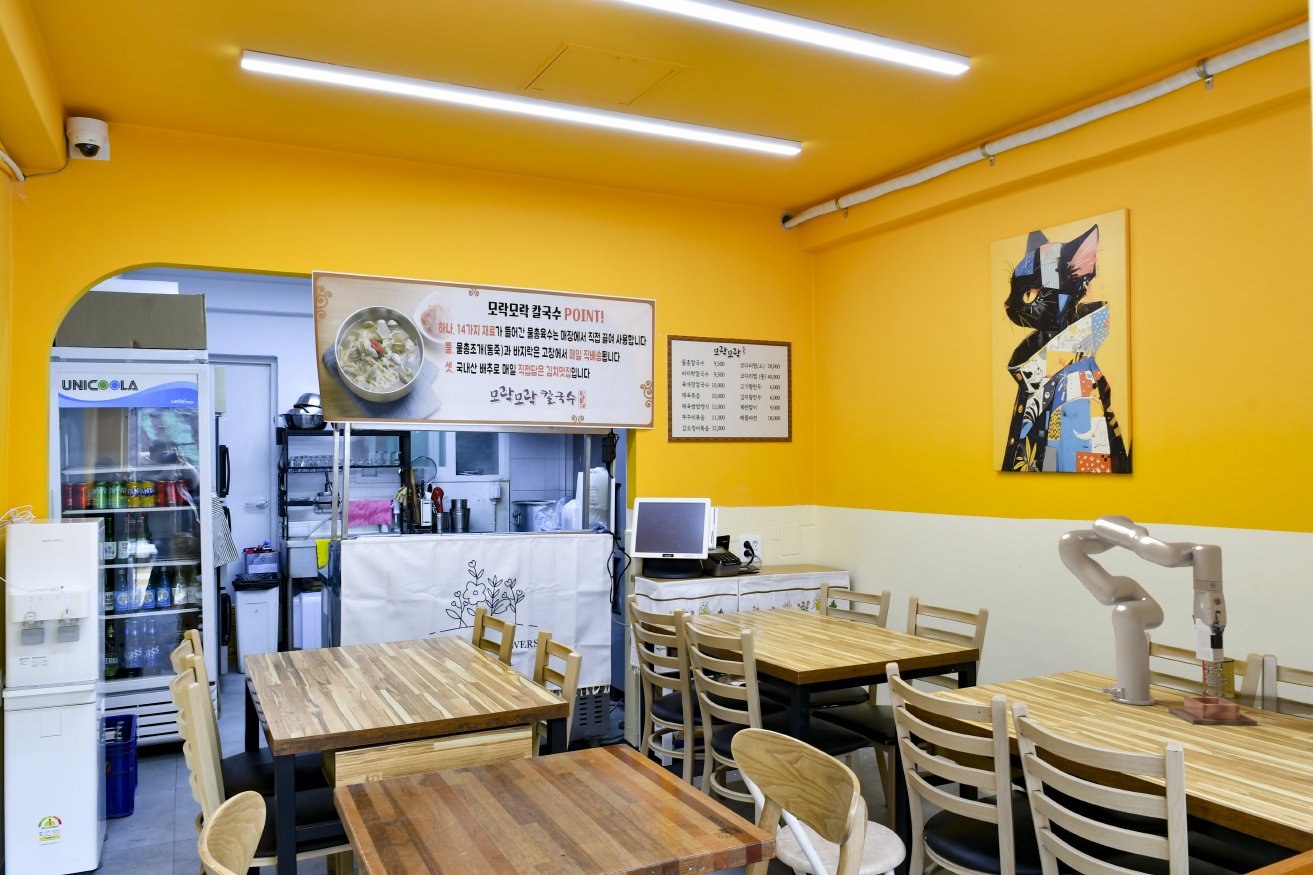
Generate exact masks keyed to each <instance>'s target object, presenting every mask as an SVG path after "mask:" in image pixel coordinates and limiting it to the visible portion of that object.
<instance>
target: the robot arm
mask: <svg viewBox="0 0 1313 875" xmlns="http://www.w3.org/2000/svg"><path fill="white" fill-rule="evenodd" d="M1115 547H1120V548H1123V549H1126V550H1129V551H1131V552H1133V553H1135V555H1137V556H1138V557H1139V558H1141V559H1143V560H1145V561H1148V562H1150V563H1153V564H1156V565H1159V566H1161V567H1165V568H1171V569H1172V568H1173V569H1175V568H1188V567H1190V568H1191V567H1192V580H1193V582H1192V583H1193V586H1192V589H1193V592H1194V593H1193V604H1192V606H1193V608H1192V609H1193V610H1192V611H1193V612H1192V613H1193V614H1192V616H1191V617H1192V619H1193V621H1194V622H1193V624H1194V626H1195V627H1194V630H1196V625H1195V619H1200V620H1201V621H1202V623H1204V624H1206V625H1209V626H1210V629H1211V633H1212V635H1210V643H1211V648H1212V649H1222V648H1223V649H1224V631H1225V628H1226V626H1227V624H1228V623H1227V621H1228V620H1227V607H1226V601H1225V595H1224V590H1223V589H1224V587H1223V585H1224V584H1223V581H1224V580H1223V552H1222V551H1223V550H1222V548H1221V546H1220V545H1216V544H1207V543H1206V544H1203V543H1202V544H1198V543H1195V542H1188V541H1187V542H1186V541H1184V542H1181V541H1180V542H1179V541H1177V542H1167V541H1164V540H1161V539H1158V538H1154V537H1153V536H1150V532H1149V530H1148V529H1147V528H1146V527H1145V526H1141V525H1139V524H1136V523H1135V522H1134V521H1133V519H1131V518H1130V517H1128V516H1126V515H1122V514H1116V515H1115V514H1114V515H1113V514H1109V515H1101V516H1099V517H1098V518H1096V519H1095V520H1094V522H1093V523H1092V529H1075V530H1070V531H1067V532H1066V533H1064V534H1062V536H1060V538H1059V540H1058V546H1057V548H1058V555H1059V558H1060V560H1061V561H1062V563H1063V565H1064V566H1065V567H1066V568H1067V570H1069V572H1071V573H1072V575H1074V576H1075V577H1076V578H1077V579H1078V580H1079V581H1080V583H1081V584H1082V585H1083V586H1084V587H1085V588H1086V590H1088V592H1089V593H1090V594H1091V595H1092V596H1093V597H1094V598H1095V599H1096V600H1097V601H1098V602H1099V603H1100V604H1102V605H1104V606H1107V607H1113V606H1115V607H1114V608H1113V609H1112V612H1111V622H1112V623H1111V624H1112V626H1113V632H1114V639H1115V640H1114V641H1115V643H1114V644H1115V668H1116V669H1115V670H1116V671H1115V672H1116V673H1115V675H1116V676H1115V678H1116V683H1115V684H1113V686H1111V687H1107V686H1106V687H1102V686H1101V688H1100V693H1101V694H1102V695H1103V694H1104V695H1107V694H1108V695H1110V696H1111V700H1113V701H1115V702H1118V703H1120V704H1121V703H1122V704H1128V705H1135V706H1151V705H1155V704H1156V703H1157V700H1156V698H1155V697H1153V696H1151V677H1150V676H1151V674H1150V672H1151V671H1150V646H1149V641H1148V638H1147V634H1146V632H1145V631H1148V630H1149V631H1150V630H1155V629H1157V628H1159V627H1161V625H1162V624H1163V623H1164V620H1165V614H1164V611H1163V608H1162V607H1161V605H1160V604H1159V603H1158V602H1157V601H1156V599H1154V598H1153V597H1152V595H1150V594H1149V592H1148V591H1146V590H1145V589H1144V587H1142V585H1140V584H1139V583H1138V582H1137V581H1136V580H1135V579H1133V578H1131V577H1130V576H1126V575H1112V574H1111V573H1109V572H1108V571H1107V570H1106V569H1105V568H1104V567H1103V566H1102V565H1101V564H1100V563H1099V562H1098V561H1097V560H1095V559H1093V558H1091V557H1090V556H1089V555H1099V554H1103V553H1105V552H1108V551H1109V550H1111V549H1113V548H1115ZM1213 622H1215V623H1217V624H1213ZM1214 627H1216V629H1214ZM1222 635H1223V637H1222Z"/></svg>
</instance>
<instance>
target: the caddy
mask: <svg viewBox="0 0 1313 875" xmlns="http://www.w3.org/2000/svg"><path fill="white" fill-rule="evenodd" d="M1240 708H1241V707H1240V705H1239V704H1237V703H1235V702H1232V701H1229V700H1227V699H1226V698H1220V697H1210V696H1183V708H1178V707H1177V708H1173V707H1168V708H1167V709H1168V713H1169V714H1171V715H1173V716H1176V717H1177V718H1179V719H1181V720H1182V721H1186V722H1187V723H1189V724H1192V725H1196V726H1197V725H1198V726H1199V725H1202V726H1203V725H1204V726H1205V725H1206V726H1207V725H1209V726H1213V725H1214V726H1220V725H1219V724H1222V725H1221V726H1258V721H1257V720H1255V719H1253V718H1251V717H1248V716H1247V715H1245V714H1241V712H1240V711H1241V710H1240ZM1223 724H1224V725H1223Z"/></svg>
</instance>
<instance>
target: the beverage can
mask: <svg viewBox="0 0 1313 875" xmlns="http://www.w3.org/2000/svg"><path fill="white" fill-rule="evenodd" d="M1224 659H1227V660H1224V661H1223V662H1210V661H1205V660H1201V662H1202V663H1201V664H1202V685H1203V684H1204V685H1208V686H1214V687H1217V688H1218V691H1219V688H1220V689H1224V690H1226V692H1227V690H1229V691H1235V692H1236V689H1235V687H1236V686H1235V685H1236V684H1235V682H1236V680H1235V679H1236V678H1235V659H1234V658H1230V657H1226V656H1224ZM1228 660H1232V661H1228ZM1211 667H1213V668H1211ZM1220 669H1222V670H1220ZM1233 670H1234V671H1233ZM1230 672H1231V673H1230ZM1214 690H1216V689H1214ZM1214 690H1213V689H1212V690H1211V689H1210V688H1209V689H1203V688H1202V694H1203V695H1204V696H1205V697H1220V698H1223V699H1230V698H1229V697H1226V694H1224V693H1220V692H1218V691H1214ZM1224 692H1225V691H1224Z"/></svg>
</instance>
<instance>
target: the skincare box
mask: <svg viewBox="0 0 1313 875" xmlns="http://www.w3.org/2000/svg"><path fill="white" fill-rule="evenodd" d="M1213 624H1217V623H1215V622H1213ZM1195 625H1196V629H1195V655H1196V658H1195V659H1197V660H1201V661H1202V660H1205V661H1210V662H1223V661H1224V657H1225V656H1224V647H1223V648H1222V649H1212V648H1211V643H1210V635H1212V633H1211V629H1210V626H1209V625H1206V624H1204V623H1202V621H1201V620H1200V619H1195V623H1194V626H1195ZM1214 629H1216V627H1214ZM1222 637H1223V638H1224V634H1223V635H1222Z"/></svg>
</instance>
